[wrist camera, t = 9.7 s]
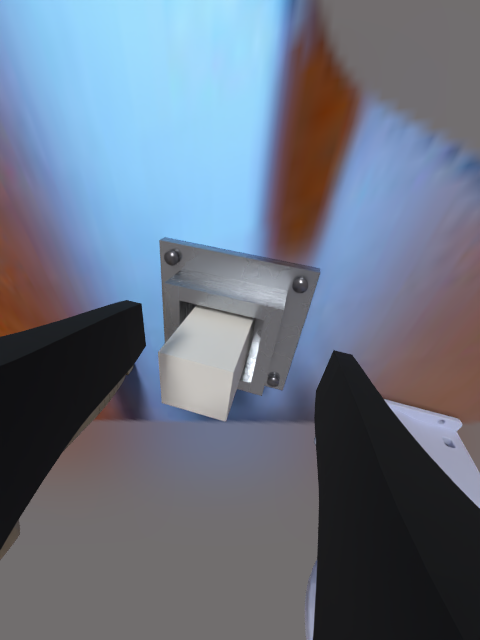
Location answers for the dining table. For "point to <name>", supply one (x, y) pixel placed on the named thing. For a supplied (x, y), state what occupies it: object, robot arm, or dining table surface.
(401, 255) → the dining table surface
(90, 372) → the robot arm
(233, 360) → the block
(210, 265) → the bracket
